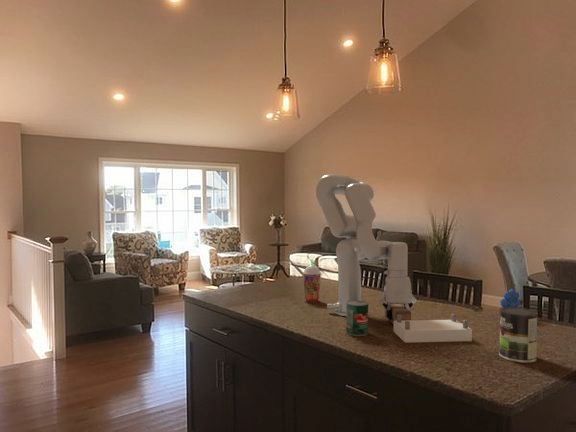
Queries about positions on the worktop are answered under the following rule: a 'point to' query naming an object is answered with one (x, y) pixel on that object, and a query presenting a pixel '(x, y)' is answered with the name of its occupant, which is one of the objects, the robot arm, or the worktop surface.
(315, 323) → the worktop surface
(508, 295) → the grapes
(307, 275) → the smoothie
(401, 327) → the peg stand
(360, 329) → the canned tomato
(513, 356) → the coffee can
